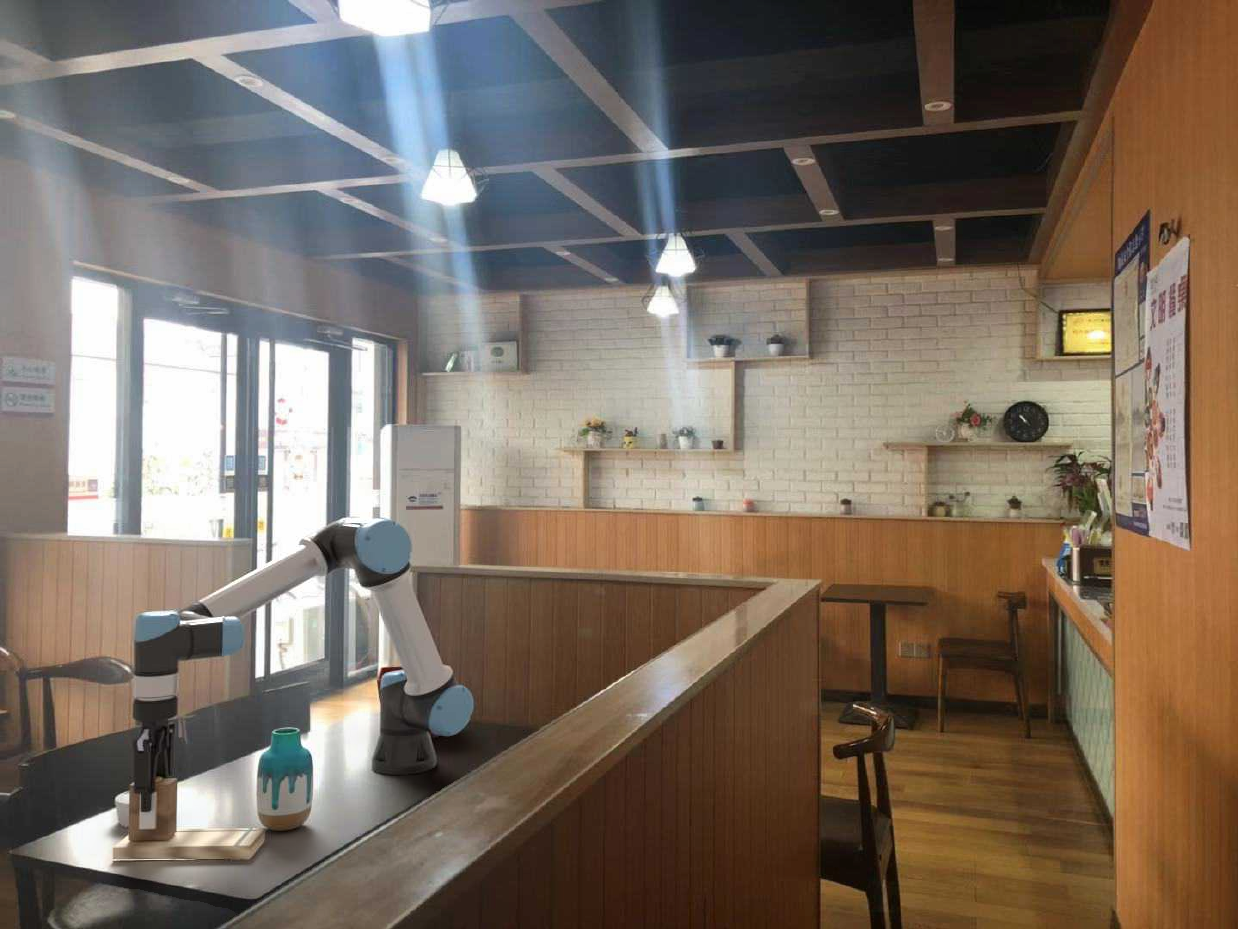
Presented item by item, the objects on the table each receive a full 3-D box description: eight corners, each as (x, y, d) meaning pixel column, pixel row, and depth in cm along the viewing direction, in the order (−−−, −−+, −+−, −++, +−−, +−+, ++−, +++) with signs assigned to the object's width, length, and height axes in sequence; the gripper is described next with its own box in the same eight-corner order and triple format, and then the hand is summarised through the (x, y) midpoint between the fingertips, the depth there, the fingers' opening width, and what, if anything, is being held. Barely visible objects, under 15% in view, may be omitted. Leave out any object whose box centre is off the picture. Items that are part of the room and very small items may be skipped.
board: (264, 841, 185) (264, 827, 185) (249, 859, 176) (250, 845, 176) (134, 843, 184) (134, 829, 184) (112, 861, 175) (113, 847, 175)
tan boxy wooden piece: (183, 825, 185) (184, 769, 185) (168, 840, 178) (169, 781, 178) (145, 826, 185) (146, 770, 185) (128, 840, 177) (129, 782, 177)
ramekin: (160, 808, 204) (160, 782, 204) (186, 820, 197) (186, 794, 197) (104, 822, 195) (104, 795, 195) (129, 835, 188) (130, 807, 188)
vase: (280, 842, 185) (281, 740, 185) (244, 831, 191) (245, 732, 191) (324, 825, 194) (325, 729, 194) (288, 815, 200) (290, 721, 200)
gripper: (153, 686, 188) (151, 808, 188) (113, 707, 171) (110, 841, 171) (193, 686, 189) (191, 808, 188) (157, 706, 172) (155, 840, 171)
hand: (153, 823), depth 180 cm, fingers closed on tan boxy wooden piece, 4 cm apart
